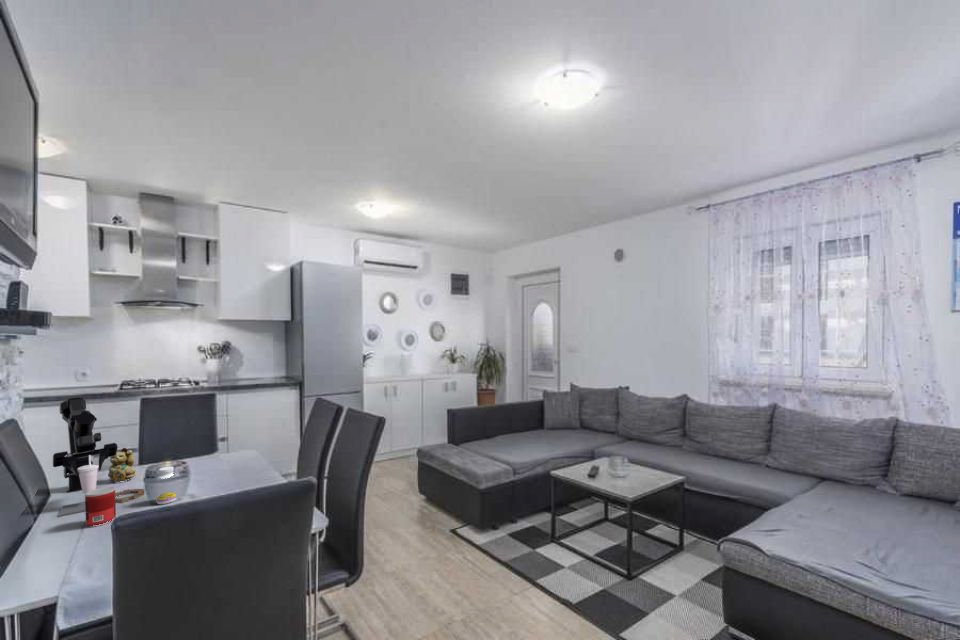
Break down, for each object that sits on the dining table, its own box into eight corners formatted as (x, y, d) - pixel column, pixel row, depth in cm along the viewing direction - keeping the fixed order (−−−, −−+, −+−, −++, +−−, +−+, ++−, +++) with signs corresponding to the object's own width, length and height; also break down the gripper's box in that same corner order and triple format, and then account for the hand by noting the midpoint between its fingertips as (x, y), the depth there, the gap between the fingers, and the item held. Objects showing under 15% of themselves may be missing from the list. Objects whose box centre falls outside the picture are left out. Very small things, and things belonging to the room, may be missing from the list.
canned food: (121, 518, 155) (120, 487, 156) (95, 528, 148) (94, 495, 148) (106, 516, 158) (106, 485, 158) (80, 526, 150) (79, 494, 151)
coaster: (63, 507, 169) (63, 505, 169) (103, 498, 176) (103, 497, 176) (58, 517, 159) (58, 515, 159) (101, 507, 167) (101, 506, 167)
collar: (107, 495, 179) (107, 493, 179) (144, 488, 187) (144, 485, 187) (105, 506, 168) (105, 503, 168) (144, 498, 175) (144, 495, 175)
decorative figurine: (106, 485, 193) (105, 451, 193) (110, 480, 200) (109, 447, 200) (134, 480, 198) (133, 447, 198) (137, 475, 205) (136, 443, 205)
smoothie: (100, 490, 169) (99, 454, 169) (78, 496, 165) (76, 459, 165) (99, 487, 174) (97, 452, 174) (77, 492, 169) (75, 456, 169)
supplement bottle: (166, 505, 166) (165, 471, 166) (151, 504, 167) (150, 470, 168) (181, 498, 173) (180, 465, 173) (167, 497, 174) (166, 465, 174)
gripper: (52, 432, 165) (56, 467, 158) (116, 422, 179) (122, 454, 172) (51, 449, 170) (54, 484, 163) (113, 439, 184) (118, 470, 177)
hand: (88, 472), depth 168 cm, fingers closed on smoothie, 6 cm apart
